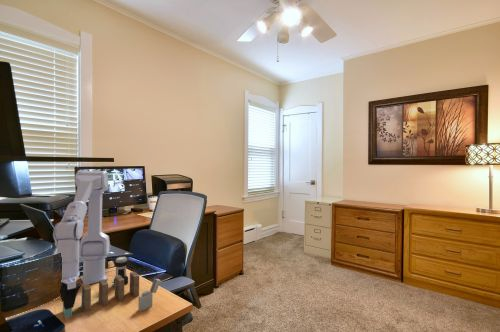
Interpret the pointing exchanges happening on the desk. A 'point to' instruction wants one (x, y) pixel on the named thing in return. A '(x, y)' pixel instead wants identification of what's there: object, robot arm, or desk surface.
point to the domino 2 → (134, 284)
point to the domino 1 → (67, 312)
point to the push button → (121, 269)
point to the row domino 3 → (119, 288)
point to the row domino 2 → (103, 292)
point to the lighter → (148, 296)
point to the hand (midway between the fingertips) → (67, 304)
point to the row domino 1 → (86, 297)
